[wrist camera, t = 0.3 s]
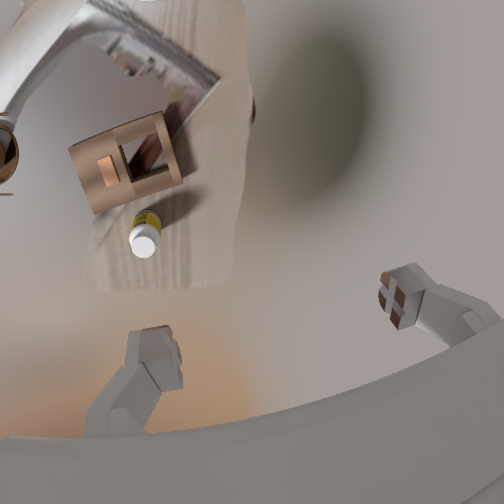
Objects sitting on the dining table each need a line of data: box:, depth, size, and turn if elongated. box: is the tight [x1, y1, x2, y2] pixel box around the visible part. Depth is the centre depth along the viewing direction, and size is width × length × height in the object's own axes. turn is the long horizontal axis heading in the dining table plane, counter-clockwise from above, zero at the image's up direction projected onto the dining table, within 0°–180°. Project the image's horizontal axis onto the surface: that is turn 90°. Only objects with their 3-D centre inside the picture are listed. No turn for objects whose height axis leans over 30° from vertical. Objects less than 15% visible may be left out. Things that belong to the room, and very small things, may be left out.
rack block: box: [68, 111, 183, 215], centre depth 50 cm, size 13×17×3 cm
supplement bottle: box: [129, 210, 161, 258], centre depth 54 cm, size 5×5×10 cm
